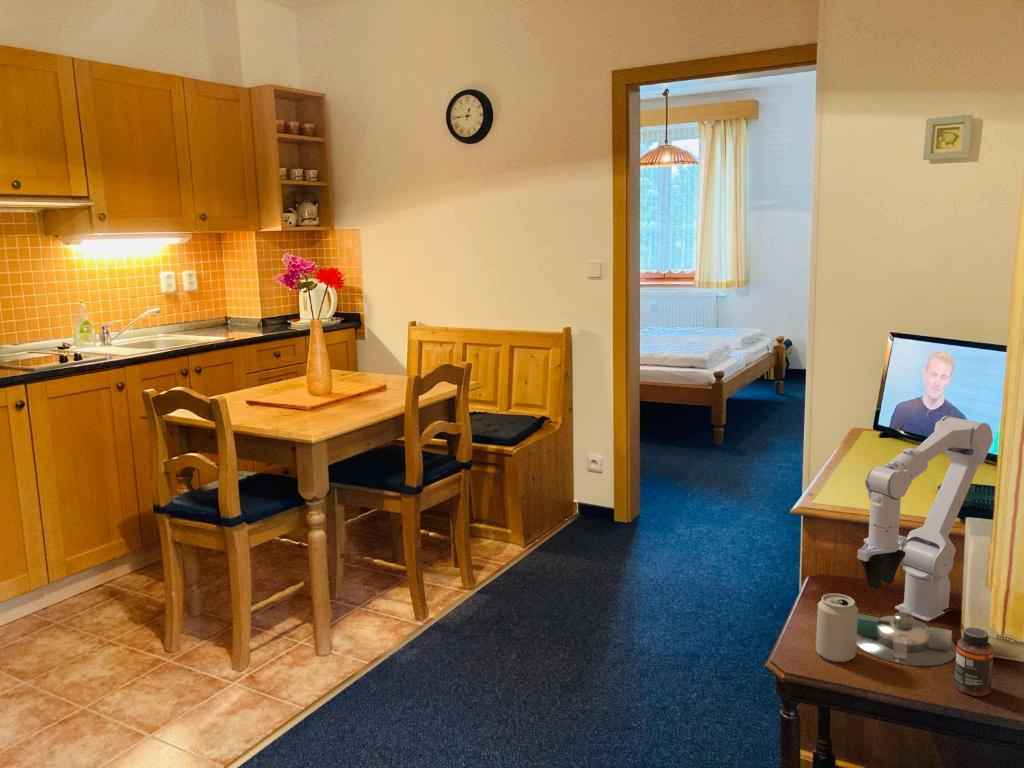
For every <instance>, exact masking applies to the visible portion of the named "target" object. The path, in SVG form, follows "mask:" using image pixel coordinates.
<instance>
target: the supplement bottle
mask: <svg viewBox="0 0 1024 768" xmlns="http://www.w3.org/2000/svg"><path fill="white" fill-rule="evenodd" d="M962 636H963V637H962V638H959V640H957V643H956V648H957V650H956V656H955V668H954V669H955V670H954V686H955V688H956V689H957V690H959V692H961V693H963V694H966V695H969V696H973V697H985V696H987V695H989V694H990V693H991V688H992V681H993V680H992V679H993V678H992V677H993V664H994V653H995V652H994V647H993V645H992V644H991V643H990V642H989V637H990V636H989V632H987V631H986V630H984V629H981V628H979V627H978V628H977V627H972V626H971V627H966V628H965V629H963V635H962Z"/></svg>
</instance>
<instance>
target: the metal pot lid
mask: <svg viewBox="0 0 1024 768" xmlns="http://www.w3.org/2000/svg"><path fill="white" fill-rule="evenodd" d="M898 612H904V613H908V614H911V615H912V608H907V607H901V606H900V609H899V610H898ZM929 627H930V628H929ZM952 633H953V632H952V630H950V629H944V628H940V627H933V626H928V625H927V624H926V623H924V622H922V621H920V620H917V619H915V618H914V621H913V628H912V629H901V628H898V627H896V626H895V625H894V615H885V616H882V617H880V618H879V616H872V615H868V614H867V615H866V614H863V613H858V622H857V634H861V635H866V636H871V637H876V638H877V640H878V641H879V642H881V643H882V644H884V645H885V646H888V647H890V648H893V658H897V659H902V660H906V657H907V651H908V652H917V651H923V650H925V649H927V648H928V647H929V648H934V649H940V650H945V651H950V649H951V640H952Z"/></svg>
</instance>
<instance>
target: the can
mask: <svg viewBox="0 0 1024 768" xmlns="http://www.w3.org/2000/svg"><path fill="white" fill-rule="evenodd" d="M858 614H859V607H857V606H856V601H855V599H853V598H852V597H851V596H848V595H846V594H842V593H826V594H823V596H822V597H821V600H820V601H818V603H817V615H816V617H817V618H816V636H815V639H816V640H815V652H817V654H818V655H820V657H821V656H822V659H824V660H826V661H828V660H830V661H829V662H831V661H832V663H837V662H843V663H846V662H845V661H848V662H850V661H849V660H853V659H854V658H855V657H856V652H857V645H856V639H857V622H858ZM833 661H834V662H833Z"/></svg>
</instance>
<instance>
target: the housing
mask: <svg viewBox="0 0 1024 768" xmlns="http://www.w3.org/2000/svg"><path fill="white" fill-rule="evenodd" d="M893 616H894V625H895V626H896V627H898V628H901V629H912V628H913V621H914V619H915V618H914V616H912V615H911V614H908V613H904V612H899V611H898V612H895V613H894V614H893ZM928 627H929V628H930V627H931V626H928ZM856 647H858V648H859V649H861V650H862V651H863V652H864V653H867V654H868V655H871V656H873V657H875V658H878V659H881V660H883V661H887V662H890V663H895V664H898V665H905V666H912V667H913V666H914V667H933V666H934V667H935V666H941V665H945V664H947V663H949V662H951V661H953V660H955V659H956V650H957V644H955V643H954V641H953V640H952V639H951V649H950V651H945V650H940V649H934V648H929V647H928V648H927V649H925V650H923V651H917V652H908V651H907V657H906V660H902V659H897V658H893V648H890V647H888V646H885V645H884V644H882V643H881V642H879V641H878V640H877V638H876V637H871V636H866V635H861V634H857V639H856Z"/></svg>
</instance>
